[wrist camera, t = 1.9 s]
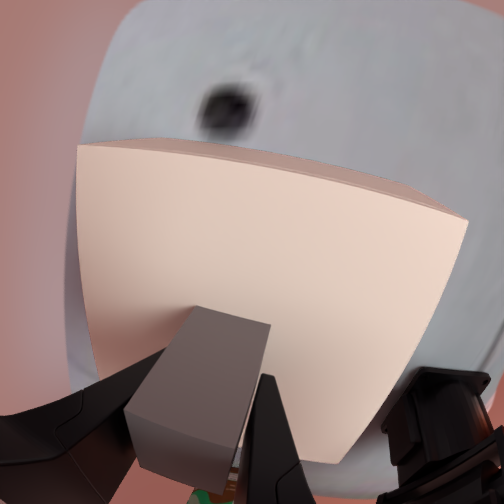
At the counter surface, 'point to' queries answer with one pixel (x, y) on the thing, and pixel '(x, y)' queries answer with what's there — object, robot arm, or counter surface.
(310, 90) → the counter surface
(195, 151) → the carton
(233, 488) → the food container
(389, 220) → the lid
